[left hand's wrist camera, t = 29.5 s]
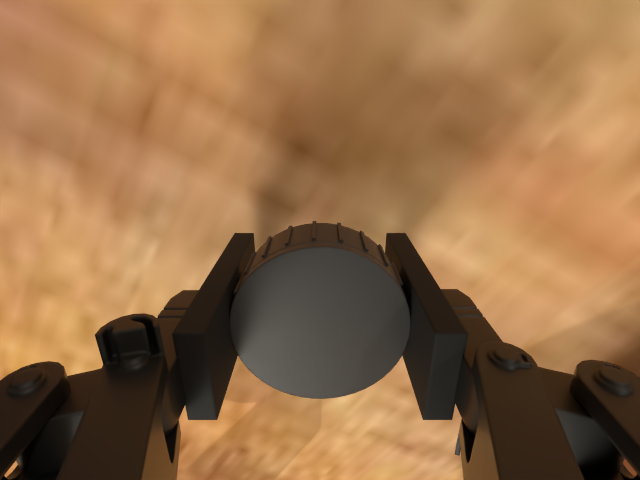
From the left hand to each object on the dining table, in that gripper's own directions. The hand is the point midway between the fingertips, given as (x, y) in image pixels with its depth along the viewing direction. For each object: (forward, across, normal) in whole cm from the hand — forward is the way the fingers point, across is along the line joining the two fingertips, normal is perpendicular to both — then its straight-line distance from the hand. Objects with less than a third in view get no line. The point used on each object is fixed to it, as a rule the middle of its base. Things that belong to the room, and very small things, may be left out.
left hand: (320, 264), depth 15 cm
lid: (-4, 0, 0) cm, 4 cm away
